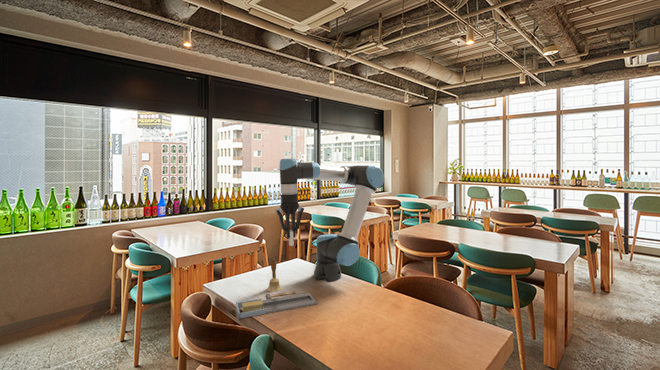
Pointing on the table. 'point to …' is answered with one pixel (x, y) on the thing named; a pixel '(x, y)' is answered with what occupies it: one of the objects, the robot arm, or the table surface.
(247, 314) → the tray
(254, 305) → the yellow square block
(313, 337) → the table surface
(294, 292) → the hammer
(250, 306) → the chip
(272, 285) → the hand bell
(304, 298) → the slot board
